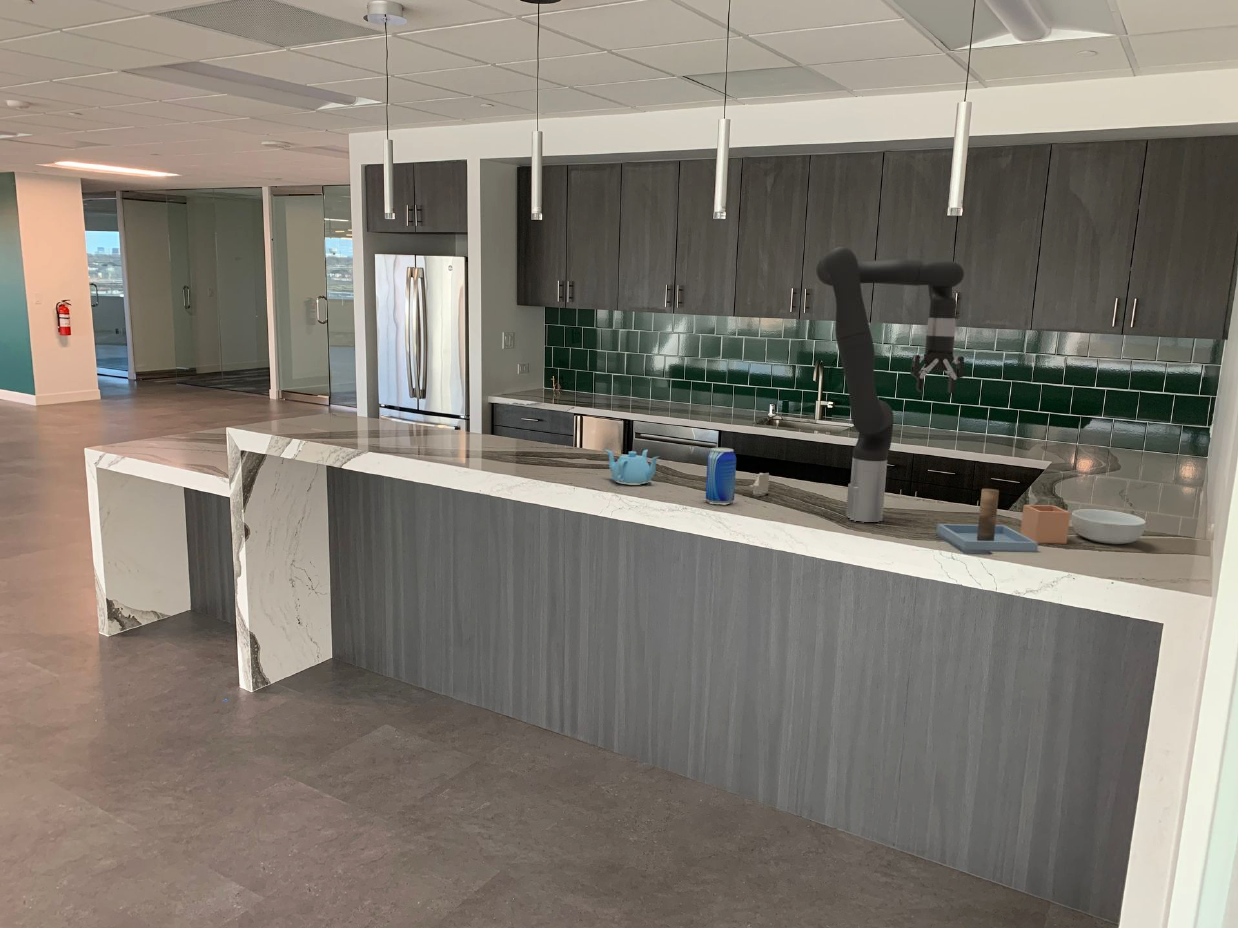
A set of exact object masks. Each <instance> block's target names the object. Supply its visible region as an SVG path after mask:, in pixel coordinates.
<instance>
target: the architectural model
mask: <svg viewBox="0 0 1238 928" xmlns="http://www.w3.org/2000/svg"><path fill="white" fill-rule="evenodd" d="M769 481H770V473H769V472H765V473H763V472H759V473H758V476H757V478H756V479H755V481H753V482H752V483H753V484H750V485H749V487H750V488H752V489H753V491H752V495H753V494H762V493H765V492H768V493H769V486H770V483H769Z"/></svg>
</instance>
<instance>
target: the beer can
mask: <svg viewBox="0 0 1238 928" xmlns="http://www.w3.org/2000/svg"><path fill="white" fill-rule="evenodd" d="M734 451H735V450H734V449H733V448H728V447H712V448H711V449H710V452H709V453H708V454H707V458H706V460H707V462H706V481H705V500H706V501H707V502H708V501H709V502H713V503H731V502H732V503H733V502H734V500H735V492H736V491H735V490H736V489H735V488H736V471H737V470H736V468H737V457H736V454H735V453H734ZM732 503H731V504H732Z"/></svg>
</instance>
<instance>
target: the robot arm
mask: <svg viewBox="0 0 1238 928" xmlns="http://www.w3.org/2000/svg"><path fill="white" fill-rule="evenodd" d="M816 264H817V265H816V276H817V278H818V280H819V281H820V282H822V284H824V285H827V286H829V287H830V286H831V287H832V289H833V293H834V297H835V298H834V299H835V304H836V305H835V306H836V308H835V321H834V322H835V324H834V325H835V326H834V327H835V328H834V329H835V340H836V343H837V347H838V348H837V349H838V352H839V357H840V360H841V365H842V369H843V373H844V378H845V380H846V384H847V390H848V391H847V392H848V398H849V405H850V406H849V407H850V408H849V409H850V415H851V422H852V425H853V427H854V428H855V429H856V431H857V432H858V439H857V441H856V443H855V445H854V447H853V450H852V462H851V473H850V475H851V476H850V483H848V485H847V498H846V508H845V509H846V511H845V517H846V516H847V517H848V518H850V519H849V521H851V520H854V521H853V522H856V521H864V522H878V523H880V522H879V521H881V522H883V516H884V505H885V491H886V479H887V478H886V477H887V469H888V468H887V466H888V456H889V452H890V450H891V445H892V437H893V428H894V412H893V409H892V407H891V406H890V405H889V404H888V403H887V402H886V401H884V400H881V399H879V397H878V394H877V390H876V385H875V380H874V379H875V378H874V374H875V372H874V371H875V357H876V356H875V346H874V341H873V337H872V332H871V328H870V323H869V321H868V316H867V310H866V307H865V303H864V299H863V293H862V288H861V287H862V286H861V284H881V285H882V284H885V285H898V286H899V285H900V286H912V287H914V286H928V296H929V302H930V304H929V310H928V312H929V313H928V320H927V321H928V322H927V326H926V332H925V334H926V337H925V347H924V354H923V355H921V354H913V355H912V362H911V368H910V375H911V376H913V377H915V378H916V386H915V387H916V390H917V392H918V393H923V392H924V386H925V385H924V384H925V379H924V378H925V377H926V375H927V374H929V373H930V372H931V371H932V372H937V371H939V372H945V374H946V375H947V376H948V378H949V379H947V380H948V381H947V382H948V383H947V391H946V392H947V393H949V394H953V392H954V391H955V390H956V381H957V380H958V379H961V378H963V377H964V373H965V372H964V369H965V366H964V365H965V357H964V356H962V355H958V356H954V347H955V338H956V337H955V334H956V317H957V316H956V315H957V300H956V298H955V297H954V296H953V294H952V293H953V292H952V290H953V288H954V287H956V286H958V285H959V284H961V283H962V281H963V279H964V276H965V272H964V268H963V267H962V265H960V264H959V263H957V262H956V261H949V260H945V261H944V260H942V261H941V260H938V261H937V260H931V261H929V260H921V259H909V258H890V259H889V258H888V259H878V260H858V258H857V256H856V255H855V253H854V252H853V251H852V250H851V249H849V248H848V247H846V246H837V247H835V248H833V249H831V250H830V251H829V252H827V253H826V254H824V255H823V256H822V257H821V258H820V259H819V261H818V262H817V263H816ZM922 361H923V362H924V365H923V366H922V367H921V369H920V363H922ZM953 362H954V364H955V371H954V368H953V367H952V364H953ZM919 369H920V370H919ZM847 517H846V518H847ZM848 518H847V519H848ZM864 522H863V523H864Z"/></svg>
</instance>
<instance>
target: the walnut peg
mask: <svg viewBox="0 0 1238 928" xmlns="http://www.w3.org/2000/svg"><path fill="white" fill-rule="evenodd" d="M980 495H981V496H980V503H979V504H980V505H979V514H978V524H977V525H978V534H977V541H994V535H995V526H996V525H997V517H998V515H997V514H998V505H999V495H1000V490H999V489H994V488H982V489H981V494H980Z"/></svg>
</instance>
